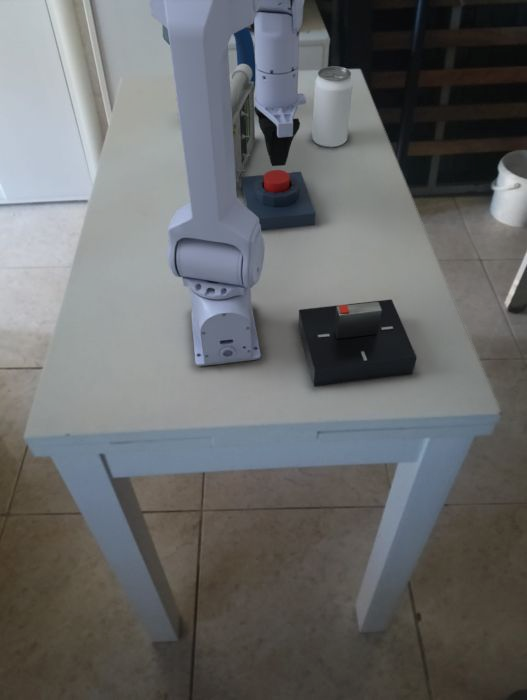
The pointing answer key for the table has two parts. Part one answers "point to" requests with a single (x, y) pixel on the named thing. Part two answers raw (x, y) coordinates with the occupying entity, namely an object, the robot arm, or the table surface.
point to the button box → (279, 203)
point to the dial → (357, 320)
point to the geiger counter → (242, 115)
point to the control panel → (355, 347)
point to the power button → (276, 181)
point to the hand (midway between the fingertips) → (276, 159)
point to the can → (332, 106)
